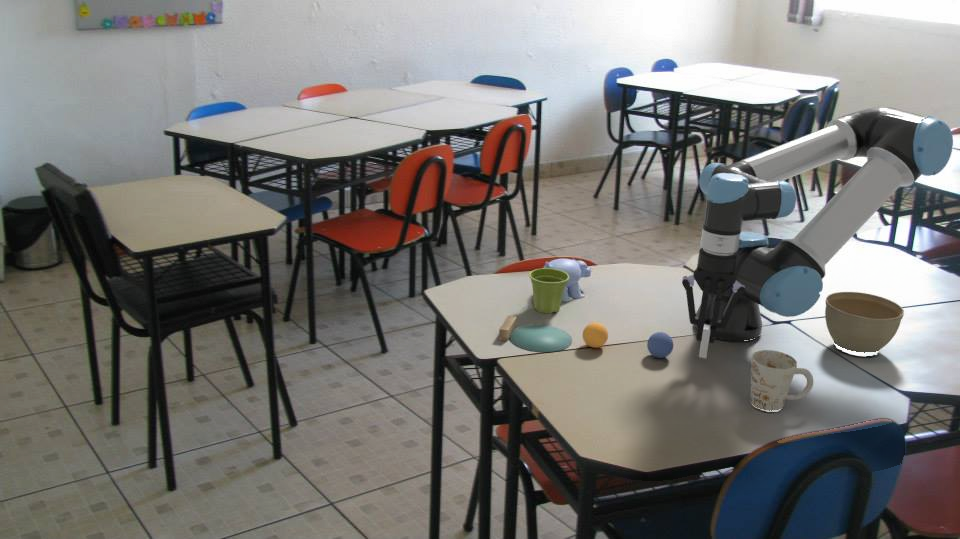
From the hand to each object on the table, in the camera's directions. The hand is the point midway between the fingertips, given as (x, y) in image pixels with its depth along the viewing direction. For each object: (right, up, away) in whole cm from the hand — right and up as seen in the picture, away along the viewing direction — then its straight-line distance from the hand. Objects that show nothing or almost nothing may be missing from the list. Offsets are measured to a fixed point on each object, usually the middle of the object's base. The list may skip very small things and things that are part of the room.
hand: (702, 354), depth 193 cm
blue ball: (-9, +2, +2) cm, 9 cm away
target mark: (-34, +3, +9) cm, 35 cm away
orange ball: (-22, +4, +5) cm, 23 cm away
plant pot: (-31, +8, +25) cm, 41 cm away
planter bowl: (+37, 0, +11) cm, 39 cm away
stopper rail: (-41, +4, +11) cm, 43 cm away
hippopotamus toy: (-26, +12, +36) cm, 46 cm away
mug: (+11, -9, -15) cm, 21 cm away
